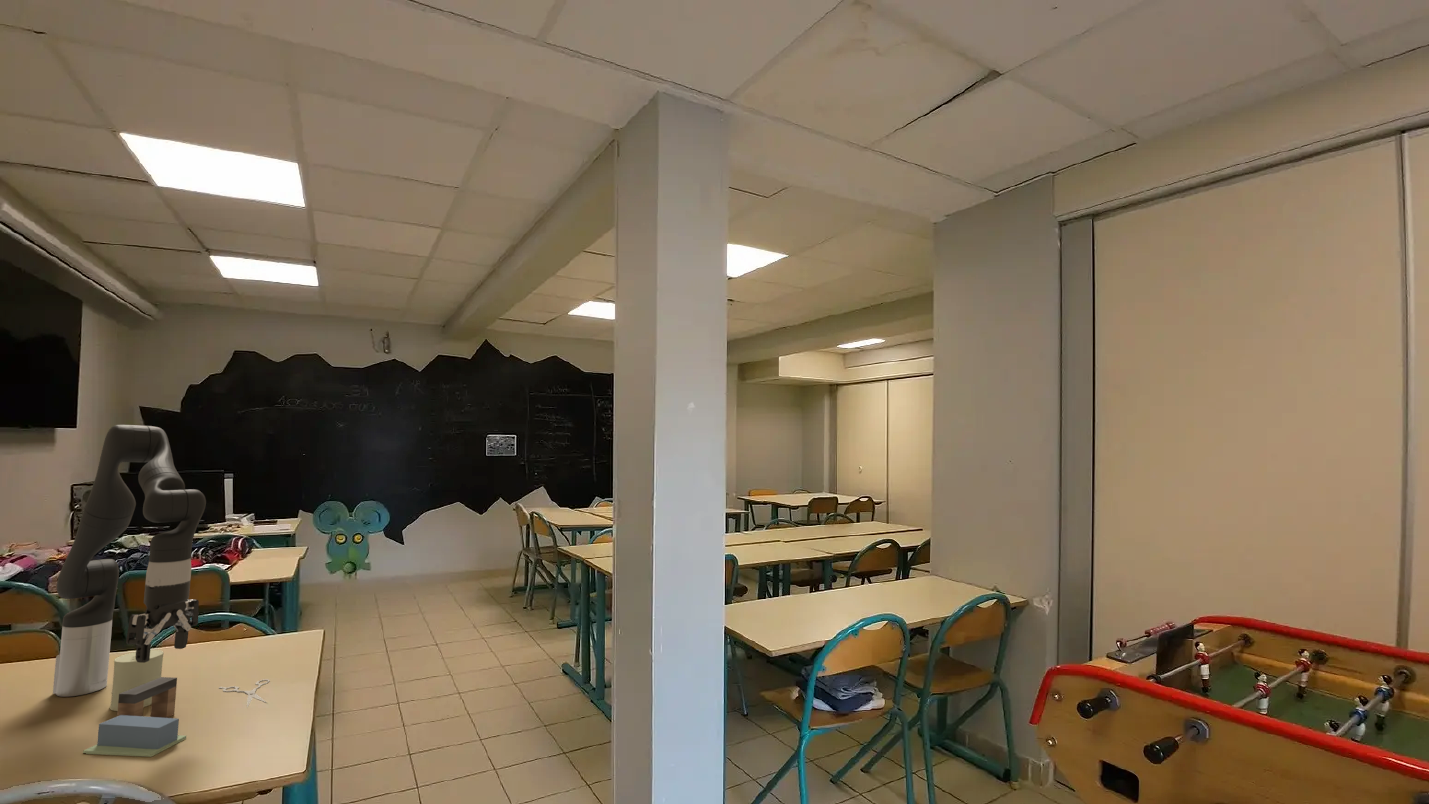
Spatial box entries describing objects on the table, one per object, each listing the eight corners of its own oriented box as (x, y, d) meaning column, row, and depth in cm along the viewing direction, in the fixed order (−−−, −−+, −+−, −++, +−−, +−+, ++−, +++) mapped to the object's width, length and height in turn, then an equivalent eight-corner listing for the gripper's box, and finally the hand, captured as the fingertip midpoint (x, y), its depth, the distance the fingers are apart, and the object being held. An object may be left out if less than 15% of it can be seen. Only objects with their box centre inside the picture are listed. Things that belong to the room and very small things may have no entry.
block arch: (115, 733, 137) (118, 693, 138) (158, 713, 147) (161, 677, 148) (132, 733, 137) (135, 694, 137) (174, 714, 147) (177, 677, 147)
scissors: (267, 676, 170) (283, 697, 156) (267, 679, 170) (282, 701, 156) (218, 687, 163) (230, 710, 149) (218, 690, 162) (230, 713, 148)
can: (102, 714, 146) (107, 662, 147) (118, 699, 154) (122, 650, 155) (153, 707, 151) (157, 656, 151) (165, 693, 159) (169, 645, 160)
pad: (82, 753, 128) (83, 750, 128) (121, 735, 136) (122, 732, 136) (151, 756, 127) (151, 753, 127) (186, 738, 135) (186, 735, 135)
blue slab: (97, 745, 130) (98, 724, 131) (118, 735, 135) (120, 715, 135) (157, 749, 129) (159, 727, 129) (177, 739, 133) (178, 718, 134)
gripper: (182, 572, 143) (176, 643, 142) (119, 587, 129) (112, 666, 128) (212, 574, 143) (206, 645, 142) (153, 588, 129) (146, 668, 128)
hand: (161, 655), depth 135 cm, fingers open, 8 cm apart
